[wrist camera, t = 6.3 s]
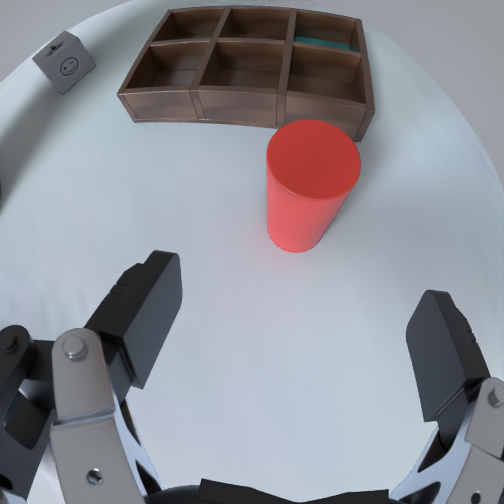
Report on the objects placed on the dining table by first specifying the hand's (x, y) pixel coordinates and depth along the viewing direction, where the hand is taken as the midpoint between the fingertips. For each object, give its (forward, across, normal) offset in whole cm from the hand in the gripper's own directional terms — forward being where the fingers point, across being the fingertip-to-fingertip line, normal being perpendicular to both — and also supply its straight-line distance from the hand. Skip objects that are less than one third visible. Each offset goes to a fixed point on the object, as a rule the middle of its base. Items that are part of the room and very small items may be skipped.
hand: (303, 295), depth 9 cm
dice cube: (+22, +27, -8) cm, 36 cm away
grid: (+21, +5, -7) cm, 22 cm away
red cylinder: (+11, 0, +3) cm, 11 cm away
